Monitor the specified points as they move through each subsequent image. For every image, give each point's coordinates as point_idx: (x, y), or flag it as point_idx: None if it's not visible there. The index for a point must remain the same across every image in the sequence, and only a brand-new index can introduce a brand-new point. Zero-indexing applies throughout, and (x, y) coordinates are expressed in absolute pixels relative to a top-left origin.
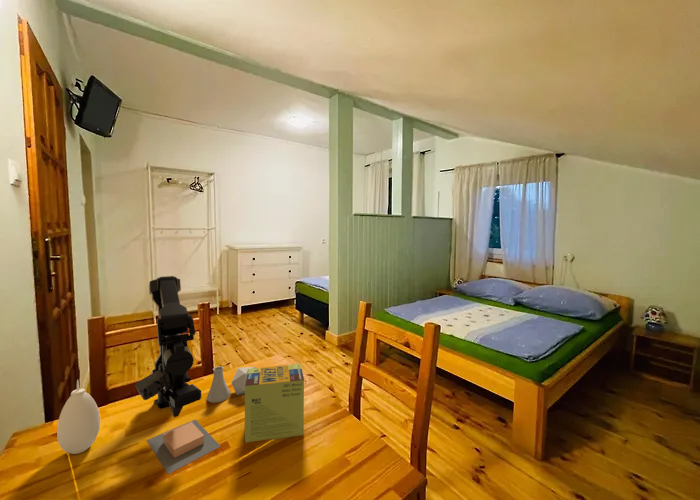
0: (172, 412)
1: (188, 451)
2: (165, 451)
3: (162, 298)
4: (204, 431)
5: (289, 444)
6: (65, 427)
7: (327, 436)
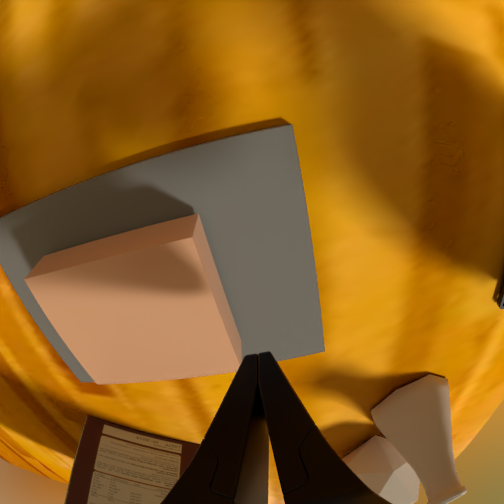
0: (260, 379)
1: None
2: (111, 220)
3: None
4: None
5: (69, 448)
6: None
7: None
